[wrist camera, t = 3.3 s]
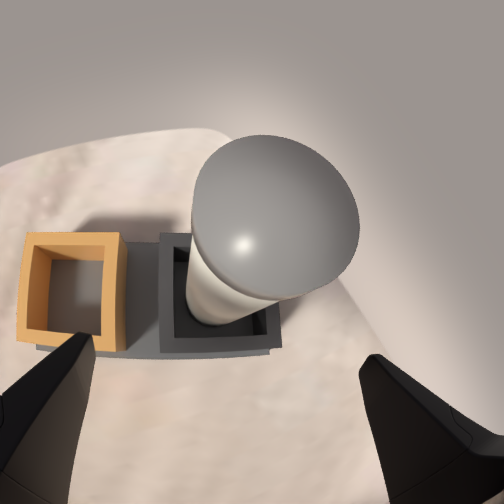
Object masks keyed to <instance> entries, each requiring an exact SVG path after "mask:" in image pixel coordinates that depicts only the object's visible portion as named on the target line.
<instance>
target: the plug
mask: <svg viewBox="0 0 504 504" xmlns="http://www.w3.org/2000/svg"><path fill="white" fill-rule="evenodd" d="M191 228H192V242H191V250H190V258H189V266H188V275H187V284H186V293H185V304H186V308H187V310H188V312H189V314H190V316H191V317H192V318H193V319H194V320H195V321H196V322H198V323H199V324H201V325H203V326H207V327H220V326H223V325H226V324H228V323H231V322H233V321H235V320H238V319H240V318H242V317H245V316H247V315H249V314H252V313H254V312H256V311H258V310H261V309H263V308H265V307H267V306H270V305H272V304H274V303H276V302H278V301H281V300H288V299H292V298H296V297H299V296H301V295H304V294H306V293H308V292H311V291H313V290H315V289H317V288H320V287H322V286H324V285H326V284H328V283H330V282H331V281H332V280H334V279H335V278H337V277H338V276H339V275H340V274H341V273H342V272H343V271H344V270H345V269H346V267H347V266H348V264H349V263H350V262H351V260H352V258H353V256H354V253H355V251H356V248H357V245H358V239H359V231H360V224H359V215H358V209H357V206H356V202H355V199H354V197H353V195H352V192H351V190H350V188H349V187H348V185H347V183H346V181H345V180H344V179H343V177H342V176H341V174H340V173H339V172H338V171H337V170H336V169H335V168H334V166H333V165H332V164H331V163H330V162H328V161H327V160H326V159H325V158H324V157H322V156H321V155H320V154H319V153H317V152H316V151H314V150H312V149H311V148H309V147H307V146H305V145H303V144H301V143H298V142H296V141H293V140H290V139H287V138H283V137H278V136H271V135H254V136H248V137H243V138H240V139H236V140H234V141H232V142H229V143H227V144H225V145H224V146H222V147H221V148H219V149H218V150H217V151H216V152H214V153H213V154H212V155H211V156H210V157H209V159H208V160H207V161H206V162H205V164H204V165H203V167H202V169H201V170H200V173H199V175H198V177H197V180H196V184H195V189H194V196H193V204H192V212H191Z"/></svg>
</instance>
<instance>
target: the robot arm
mask: <svg viewBox="0 0 504 504" xmlns="http://www.w3.org/2000/svg"><path fill="white" fill-rule="evenodd" d="M95 359H96V352H95V347H94V342H93V337H92V335H91V334H90V333H87V332H83V331H78V332H76V333H75V334H74V335H73V336H71V337H70V338H69V339H68V340H66V341H65V342H64V343H63V344H61V345H60V346H59V347H58V348H56V349H55V350H54V351H53V352H51V353H50V354H49V355H48V356H46V357H45V358H44V359H43V360H41V361H40V362H39V363H38V364H37V365H35V366H34V367H33V368H32V369H31V370H29V371H28V372H27V373H26V374H25V375H23V376H22V377H21V378H20V379H19V380H18V381H16V382H15V383H14V384H13V385H12V386H11V387H9V388H8V389H7V390H6V391H5V392H4V393H2V396H1V395H0V504H67V503H68V495H69V488H70V482H71V475H72V470H73V464H74V459H75V454H76V449H77V445H78V440H79V436H80V431H81V427H82V423H83V419H84V415H85V412H86V408H87V404H88V399H89V393H90V386H91V380H92V375H93V369H94V364H95ZM359 380H360V385H361V390H362V395H363V400H364V405H365V410H366V414H367V417H368V421H369V424H370V427H371V431H372V434H373V438H374V442H375V445H376V449H377V453H378V456H379V460H380V464H381V468H382V472H383V476H384V480H385V484H386V488H387V493H388V497H389V502H390V504H504V436H502V435H497V434H494V433H492V432H490V431H489V430H487V429H485V428H484V427H482V426H480V425H479V424H477V423H475V422H474V421H472V420H471V419H469V418H467V417H466V416H464V415H463V414H461V413H460V412H459V411H457V410H456V409H454V408H453V407H451V406H449V404H448V403H446V402H445V401H443V400H442V399H441V398H439V397H438V396H437V395H435V394H434V393H432V392H431V391H430V390H428V389H427V388H426V387H424V386H423V385H421V384H420V383H419V382H417V381H416V380H415V379H413V378H412V377H411V376H409V375H408V374H407V373H405V372H404V371H402V370H401V369H400V368H398V367H397V366H396V365H394V364H393V363H392V362H390V361H389V360H387V359H386V358H385V357H383V356H382V355H380V354H371V355H369V356H368V357H367V359H366V361H365V362H364V364H363V365H362V367H361V368H360V370H359Z"/></svg>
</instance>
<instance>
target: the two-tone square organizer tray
mask: <svg viewBox="0 0 504 504" xmlns="http://www.w3.org/2000/svg"><path fill="white" fill-rule="evenodd" d="M191 242H192V233H160V243H131V242H124V241H123V239H122V237H121V234H120V232H27V233H26V238H25V244H24V250H23V256H22V263H21V270H20V279H19V289H18V303H17V341H20V342H27V343H33V344H36V350H42V351H49V352H53V351H54V350H55V349H56V348H58V347H59V346H60V345H61V344H63V343H64V342H65V341H66V340H68V339H69V338H70V337H71V336H73V335H74V334H75V333H76V332H78V331H83V332H87V333H90V334H91V335H92V337H93V342H94V347H95V352H96V357H108V358H127V359H214V358H233V357H247V356H260V355H270V353H269V349H272V348H282V339H281V326H280V314H279V303H278V302H276V303H274V304H272V305H270V306H267V307H265V308H263V309H261V310H258V311H256V312H254V313H252V314H249V315H247V316H245V317H242V318H240V319H238V320H235V321H233V322H231V323H228V324H226V325H223V326H220V327H207V326H203V325H201V324H199V323H198V322H196V321H195V320H194V319H193V318H192V317H191V316H190V314H189V312H188V310H187V308H186V304H185V293H186V284H187V275H188V266H189V258H190V250H191Z"/></svg>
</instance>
